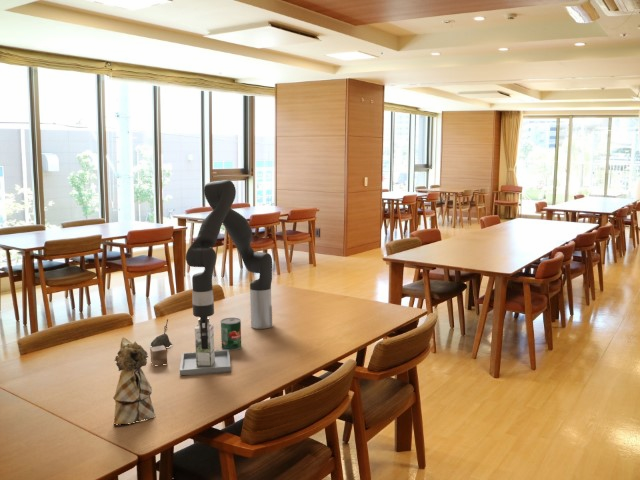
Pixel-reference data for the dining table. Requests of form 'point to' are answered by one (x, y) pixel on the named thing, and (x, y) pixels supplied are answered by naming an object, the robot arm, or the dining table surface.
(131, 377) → the plush toy
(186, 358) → the slate tray
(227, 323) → the canned tomato
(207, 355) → the syrup box
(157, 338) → the sword in stone
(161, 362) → the walnut block
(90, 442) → the dining table surface
